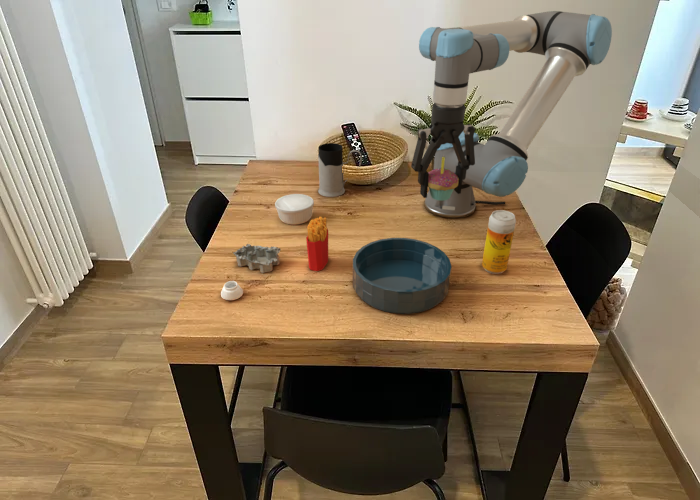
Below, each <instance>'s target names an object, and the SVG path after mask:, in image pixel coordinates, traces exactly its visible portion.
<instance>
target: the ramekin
mask: <svg viewBox="0 0 700 500" xmlns="http://www.w3.org/2000/svg"><path fill="white" fill-rule="evenodd" d="M314 205H315V201H314V199H313V198H312V197H311V196H310V195H307V194H304V193H290V194H286V195H283V196H281V197H279V198H277V199H276V201H275V202H274V207H275V209H276V211H277V215H278V218H279V220H280V221H281V222H282V223H284V224H287V225H291V226H292V225H301V224H304V223H307V222H308V221H310V220H311V218H312V217H313V211H314Z"/></svg>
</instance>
